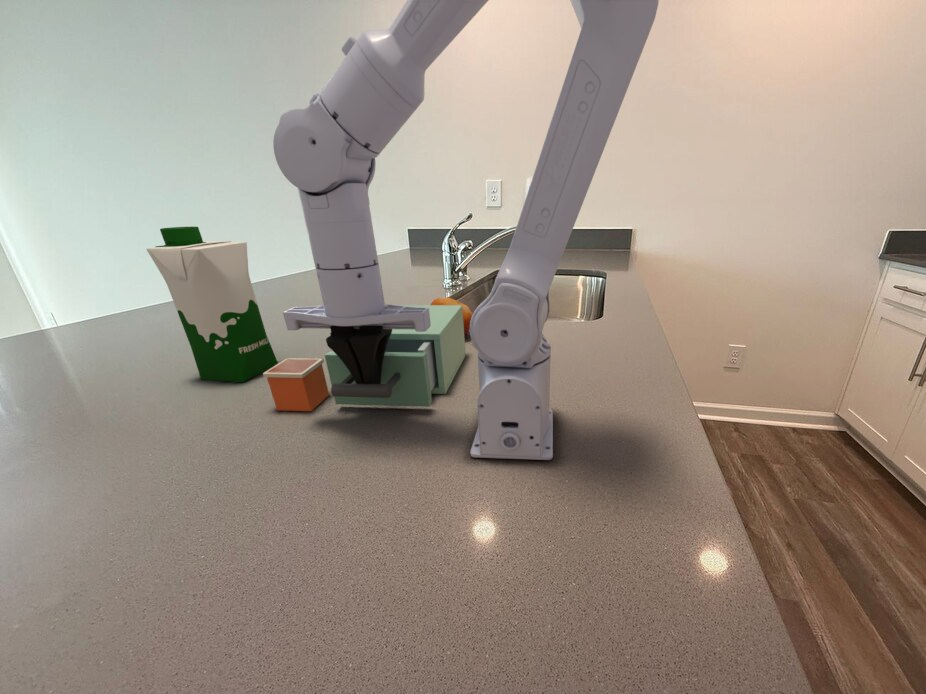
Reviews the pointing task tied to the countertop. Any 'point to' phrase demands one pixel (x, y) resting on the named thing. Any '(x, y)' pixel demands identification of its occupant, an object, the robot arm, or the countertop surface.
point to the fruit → (466, 311)
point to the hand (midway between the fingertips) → (371, 391)
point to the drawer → (390, 376)
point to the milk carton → (215, 304)
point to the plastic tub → (297, 384)
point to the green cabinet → (441, 341)
